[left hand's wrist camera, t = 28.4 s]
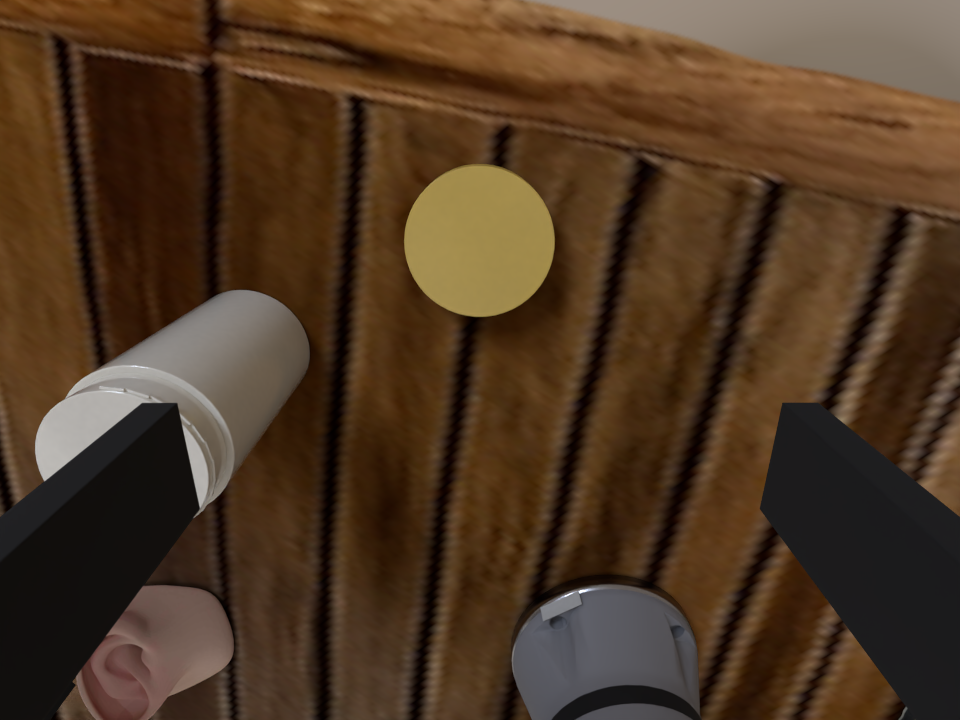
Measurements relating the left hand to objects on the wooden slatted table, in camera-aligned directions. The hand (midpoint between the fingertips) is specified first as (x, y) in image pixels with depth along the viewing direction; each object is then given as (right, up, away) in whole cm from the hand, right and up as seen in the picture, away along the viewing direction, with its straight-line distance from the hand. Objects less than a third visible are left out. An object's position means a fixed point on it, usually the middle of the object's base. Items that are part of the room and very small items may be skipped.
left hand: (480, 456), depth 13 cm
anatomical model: (-27, -22, +36) cm, 50 cm away
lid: (0, +9, +22) cm, 24 cm away
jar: (-16, +3, +27) cm, 31 cm away
